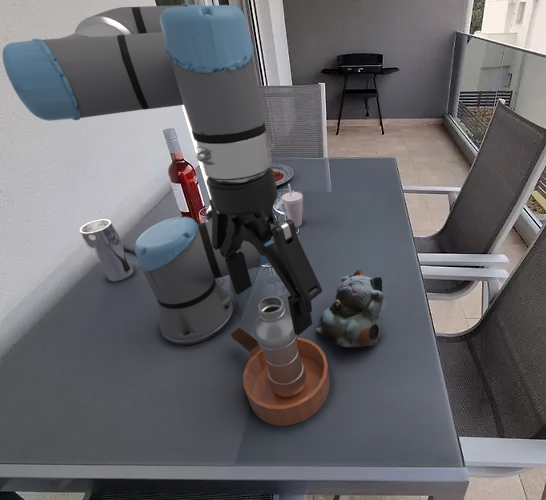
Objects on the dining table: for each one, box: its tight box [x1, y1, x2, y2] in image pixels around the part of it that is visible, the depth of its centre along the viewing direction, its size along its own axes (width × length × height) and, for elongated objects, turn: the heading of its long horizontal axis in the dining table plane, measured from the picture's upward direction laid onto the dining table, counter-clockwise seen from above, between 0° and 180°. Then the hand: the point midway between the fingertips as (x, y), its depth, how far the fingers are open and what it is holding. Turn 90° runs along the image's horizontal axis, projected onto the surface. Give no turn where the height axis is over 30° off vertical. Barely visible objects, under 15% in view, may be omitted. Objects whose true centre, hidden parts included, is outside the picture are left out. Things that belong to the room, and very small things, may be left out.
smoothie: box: [281, 183, 304, 228], centre depth 107 cm, size 6×6×14 cm
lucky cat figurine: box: [315, 269, 385, 348], centre depth 71 cm, size 15×12×14 cm
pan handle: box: [230, 327, 261, 358], centre depth 67 cm, size 8×3×3 cm, turn 50°
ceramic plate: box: [270, 163, 294, 187], centre depth 140 cm, size 26×26×3 cm
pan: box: [242, 336, 331, 427], centre depth 62 cm, size 14×14×5 cm
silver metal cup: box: [79, 218, 134, 282], centre depth 89 cm, size 7×7×15 cm
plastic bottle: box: [254, 296, 307, 397], centre depth 57 cm, size 6×7×20 cm
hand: (271, 307), depth 52 cm, fingers open, 13 cm apart
